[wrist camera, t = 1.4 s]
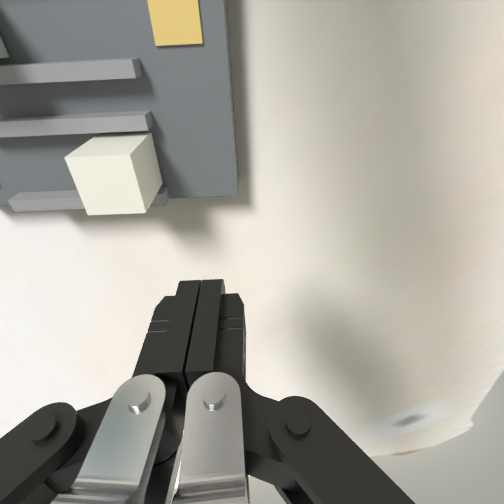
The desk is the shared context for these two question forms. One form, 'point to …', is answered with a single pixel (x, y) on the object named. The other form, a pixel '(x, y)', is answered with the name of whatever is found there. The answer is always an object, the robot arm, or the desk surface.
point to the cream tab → (116, 173)
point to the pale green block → (3, 50)
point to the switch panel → (114, 94)
